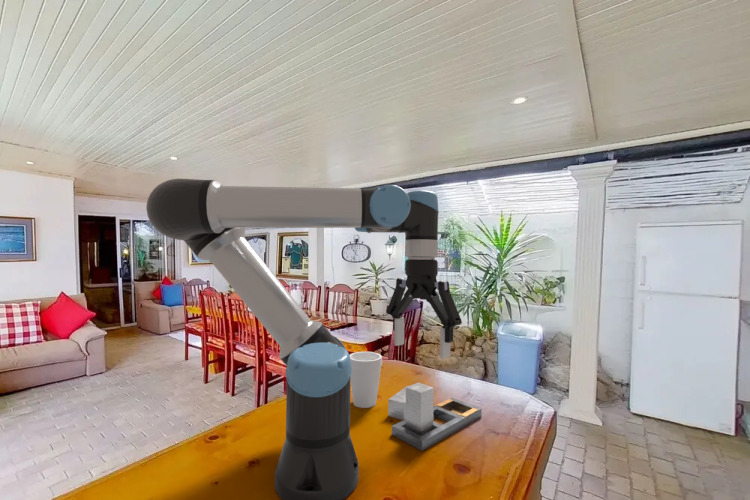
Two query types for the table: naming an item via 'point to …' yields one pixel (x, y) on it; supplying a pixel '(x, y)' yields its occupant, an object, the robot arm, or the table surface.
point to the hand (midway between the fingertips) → (420, 350)
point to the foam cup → (365, 378)
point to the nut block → (398, 405)
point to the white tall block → (419, 408)
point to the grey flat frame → (447, 410)
